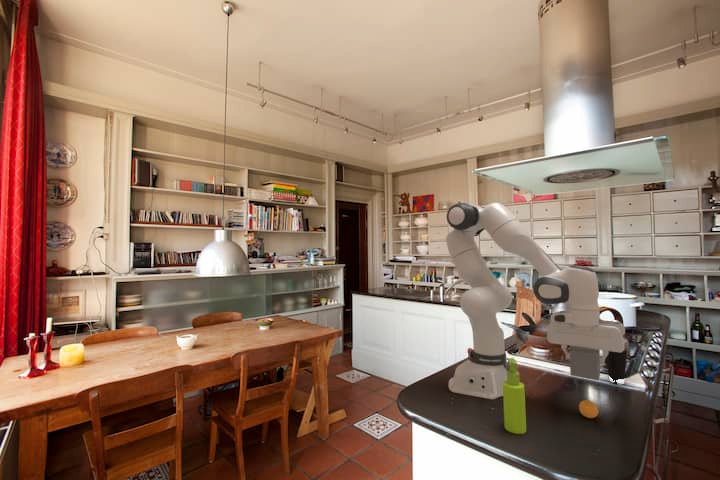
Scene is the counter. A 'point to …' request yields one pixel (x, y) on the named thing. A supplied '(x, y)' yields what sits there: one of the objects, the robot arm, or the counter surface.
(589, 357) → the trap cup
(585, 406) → the ball
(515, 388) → the soap dispenser
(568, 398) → the counter surface
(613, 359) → the drinking cup
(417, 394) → the counter surface
